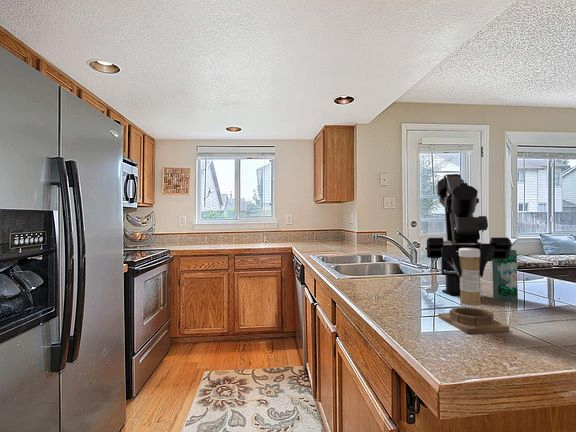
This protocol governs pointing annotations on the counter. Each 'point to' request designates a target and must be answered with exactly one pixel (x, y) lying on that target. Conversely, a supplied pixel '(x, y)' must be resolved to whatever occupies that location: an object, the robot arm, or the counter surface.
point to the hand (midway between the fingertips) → (470, 275)
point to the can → (505, 278)
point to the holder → (473, 320)
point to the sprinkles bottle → (470, 276)
